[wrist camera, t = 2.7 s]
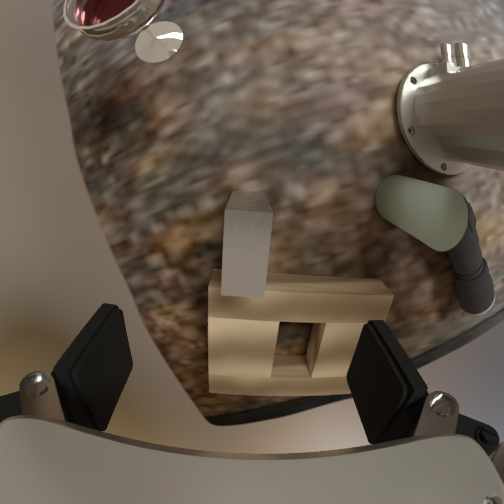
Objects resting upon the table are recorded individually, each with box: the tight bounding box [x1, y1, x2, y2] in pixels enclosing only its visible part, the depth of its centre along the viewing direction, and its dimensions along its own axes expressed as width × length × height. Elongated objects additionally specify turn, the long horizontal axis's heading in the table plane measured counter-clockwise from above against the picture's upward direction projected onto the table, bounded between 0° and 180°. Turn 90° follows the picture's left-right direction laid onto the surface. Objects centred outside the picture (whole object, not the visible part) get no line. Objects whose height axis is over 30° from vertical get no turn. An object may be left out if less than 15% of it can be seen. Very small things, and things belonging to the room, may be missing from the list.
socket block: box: [208, 269, 394, 396], centre depth 29 cm, size 14×18×4 cm
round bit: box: [375, 175, 468, 251], centre depth 22 cm, size 5×5×9 cm
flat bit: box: [221, 190, 273, 298], centre depth 23 cm, size 6×3×9 cm, turn 176°
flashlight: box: [446, 197, 495, 316], centre depth 26 cm, size 15×5×5 cm, turn 39°
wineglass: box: [63, 0, 183, 63], centre depth 15 cm, size 7×7×12 cm
